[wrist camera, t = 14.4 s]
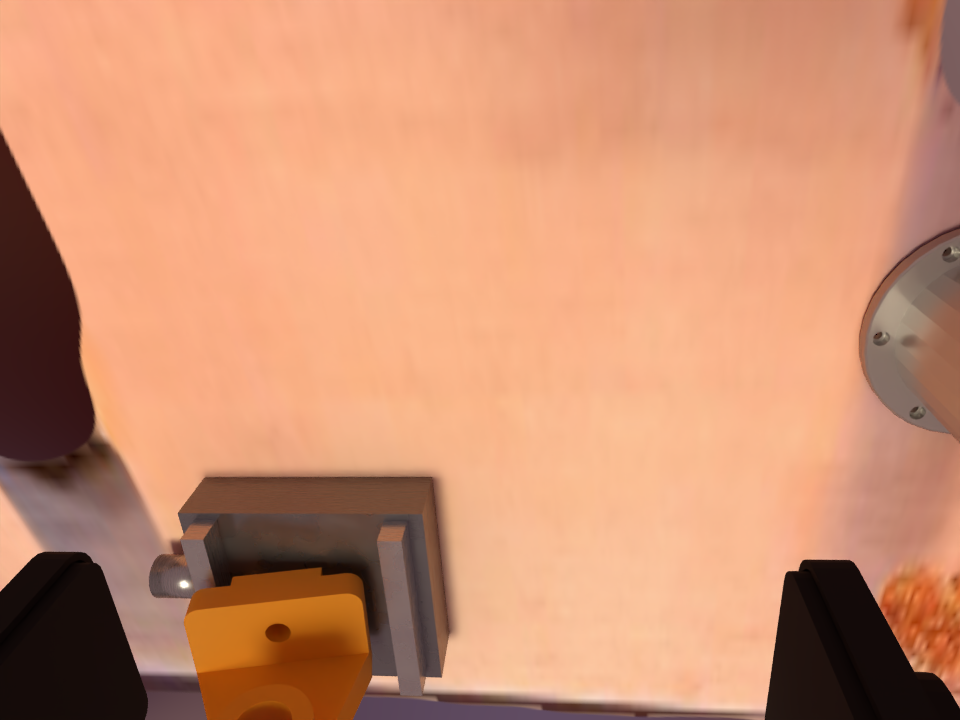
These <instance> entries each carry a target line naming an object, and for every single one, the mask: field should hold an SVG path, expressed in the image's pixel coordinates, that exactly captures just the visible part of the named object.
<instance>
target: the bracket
mask: <svg viewBox="0 0 960 720" xmlns="http://www.w3.org/2000/svg"><path fill="white" fill-rule="evenodd" d="M184 626H185V630H186V633H187V637H188V641H189V645H190V648H191V652H192V656H193V660H194V664H195V667H196V671H197V675H198V680H199V684H200V689H201V693H202V698H203V702H204V706H205V711H206V716H207V720H353V718H354V715H355V713H356V711H357V709H358V707H359V704H360V702H361V700H362V698H363V696H364V694H365V691H366V689H367V687H368V685H369V683H370V681H371V678H372V649H371V641H370V633H369V626H368V618H367V610H366V602H365V594H364V586H363V581H362V580H361V578H360V577H358V576H357V575H355V574H351V573H343V574H334V575H324V576H323V573H322V567H319V568H310V569H301V570H291V571H282V572H273V573H263V574H254V575H245V576H235V577H233V578H232V582H231V586H223V587H214V588H205V589H200V590H198V591H196V592H195V593H194V594H193V596H192V598H191V601H190V604H189V607H188V610H187V613H186V616H185V619H184Z"/></svg>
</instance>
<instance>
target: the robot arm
mask: <svg viewBox="0 0 960 720" xmlns="http://www.w3.org/2000/svg"><path fill="white" fill-rule="evenodd" d="M947 248H948V249H947ZM946 249H947V251H946V252H945V253H943V252H944V250H946ZM878 332H879V333H878ZM877 333H878V334H877ZM875 334H877V335H876V336H874V335H875ZM859 357H860V361H861V365H862V369H863V374H864V376H865V378H866V380H867V382H868V384H869V385H870V387H871V389H872V391H873V392H874V393H875V394H876V395H877V397H878V398H879V399H880V401H881V402H882V403H883V404H884V405H885V406H886V407H887V408H888V409H889V410H891V411H892V412H893V413H894V414H895V415H896V416H898V417H899V418H901V419H903V420H904V421H906V422H907V423H910V424H912V425H914V426H917V427H920V428H923V429H926V430H929V431H934V432H940V433H947V434H952V435H953V437H954V438H955V439H956V440H957V441H958V442H959V443H960V228H959V229H957V230H954V231H951V232H949V233H946V234H944V235H942V236H940V237H938V238H936V239H935V240H933V241H931V242H929V243H927V244H926V245H924V246H922V247H921V248H919V249H918V250H917V251H915V252H914V253H913V254H911V255H910V256H909V257H908V258H906V259H905V260H904V261H902V262H901V263H900V264H899V265H898V266H897V268H896V269H895V270H894V271H893V272H892V273H891V274H890V275H889V276H888V277H887V278H886V279H885V280H884V282H883V283H882V285H881V286H880V288H879V289H878V291H877V292H876V294H875V295H874V297H873V298H872V300H871V303H870V305H869V307H868V310H867V312H866V314H865V316H864V319H863V324H862V328H861V333H860V337H859ZM147 708H148V698H147V694H146V691H145V688H144V685H143V683H142V680H141V677H140V674H139V671H138V669H137V666H136V663H135V660H134V657H133V655H132V652H131V649H130V646H129V643H128V641H127V638H126V635H125V632H124V629H123V627H122V624H121V621H120V618H119V615H118V613H117V610H116V607H115V604H114V601H113V599H112V596H111V593H110V590H109V587H108V585H107V582H106V579H105V576H104V573H103V571H102V569H101V567H100V566H99V565H98V564H97V563H93V561H92V559H91V558H90V556H88V555H87V554H86V553H82V552H42V553H39V554H37V555H36V556H35V557H34V558H32V559H31V560H30V561H29V562H28V563H27V564H26V565H25V566H24V568H23V569H22V570H21V571H20V572H19V573H18V574H17V575H16V576H15V577H14V578H13V579H12V580H11V581H10V582H9V583H8V584H7V585H6V586H5V587H4V588H3V589H2V590H1V592H0V720H145V717H146V714H147ZM765 720H960V708H959V706H958V704H957V703H956V701H955V699H954V698H953V696H952V694H951V692H950V691H949V690H948V688H947V687H946V685H945V684H944V683H943V681H942V680H941V679H940V678H939V677H937V676H936V675H935V674H933V673H927V672H914V670H913V669H912V667H911V665H910V663H909V661H908V659H907V658H906V656H905V654H904V652H903V650H902V648H901V647H900V645H899V643H898V641H897V639H896V637H895V636H894V634H893V632H892V630H891V628H890V626H889V625H888V623H887V621H886V619H885V617H884V615H883V614H882V612H881V610H880V608H879V606H878V604H877V602H876V601H875V599H874V597H873V595H872V593H871V591H870V590H869V588H868V586H867V584H866V582H865V580H864V579H863V577H862V575H861V573H860V571H859V569H858V568H857V566H856V565H855V564H854V562H852V561H850V560H803V561H802V563H801V564H800V567H799V571H788V572H787V573H786V575H785V579H784V585H783V592H782V600H781V607H780V614H779V621H778V628H777V635H776V642H775V649H774V656H773V664H772V671H771V678H770V685H769V692H768V699H767V706H766V713H765Z"/></svg>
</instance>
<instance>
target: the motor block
mask: <svg viewBox="0 0 960 720" xmlns="http://www.w3.org/2000/svg"><path fill="white" fill-rule="evenodd" d="M178 516H179V519H180V523H181V526H182V530H183V533H184V535H183V536H182V537H181V539H180V541H181V545H182V548H183V551H184V554H161V555H159V556H158V557H157V558H156V559H155V561H154V563H153V565H152V567H151V571H150V576H149V587H150V591H151V593H152V595H153V596H154V597H156V598H192V596H193V594H194V593H195V592H196V591H198V590H200V589H205V588H214V587H223V586H231V582H232V578H233V577H235V576H245V575H254V574H263V573H273V572H282V571H291V570H301V569H310V568H319V567H322V573H323V576H324V575H334V574H343V573H351V574H355V575H357V576H358V577H360V578H361V580H362V581H363V586H364V594H365V602H366V610H367V618H368V626H369V633H370V641H371V649H372V675H374V676H398V682H399V689H400V695H413V696H422V695H423V690H424V685H425V680H426V677H442V673H443V667H444V661H445V656H446V650H447V644H448V638H449V628H448V619H447V610H446V600H445V591H444V582H443V573H442V564H441V555H440V546H439V537H438V527H437V518H436V509H435V500H434V491H433V482H432V477H425V478H204V479H203V480H202V482H201V483H200V484H199V486H198V487H197V488H196V490H195V491H194V492H193V494H192V495H191V496H190V498H189V499H188V500H187V502H186V503H185V504H184V505H183V507H182V508H181V509H180V511H179V512H178Z"/></svg>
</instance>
